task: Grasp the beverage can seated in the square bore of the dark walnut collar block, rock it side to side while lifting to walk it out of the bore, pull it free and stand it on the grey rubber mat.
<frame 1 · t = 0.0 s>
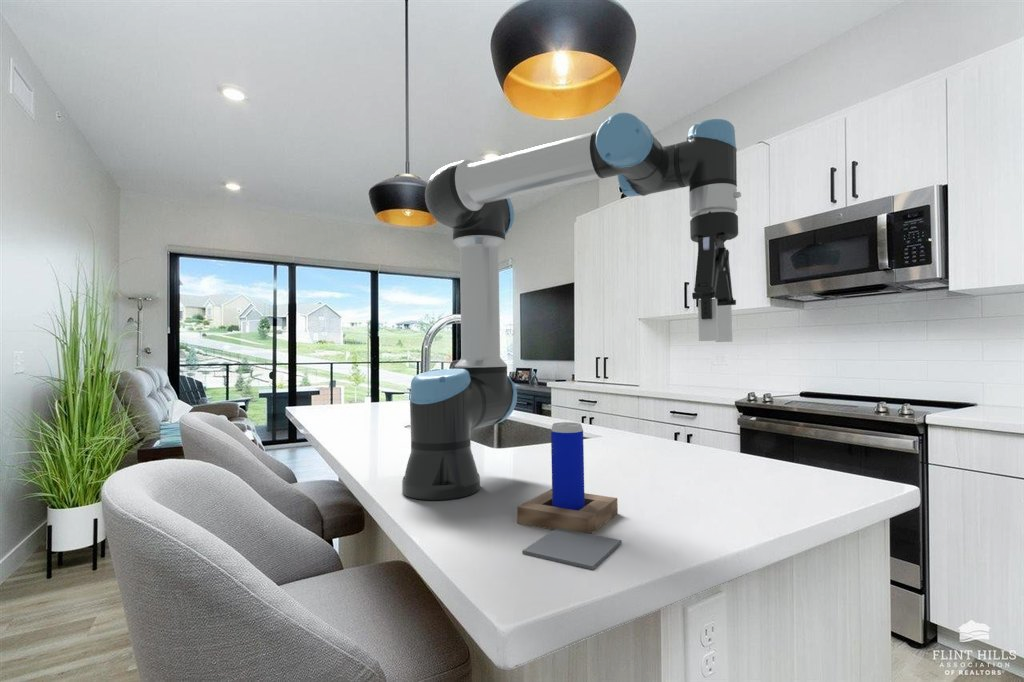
hand: (716, 341, 84), 28 cm above the countertop, fingers open, 13 cm apart
grey rubber mat: (573, 548, 68), on the countertop
walnut collar block: (568, 517, 81), on the countertop
beverage can: (568, 519, 81), resting in walnut collar block
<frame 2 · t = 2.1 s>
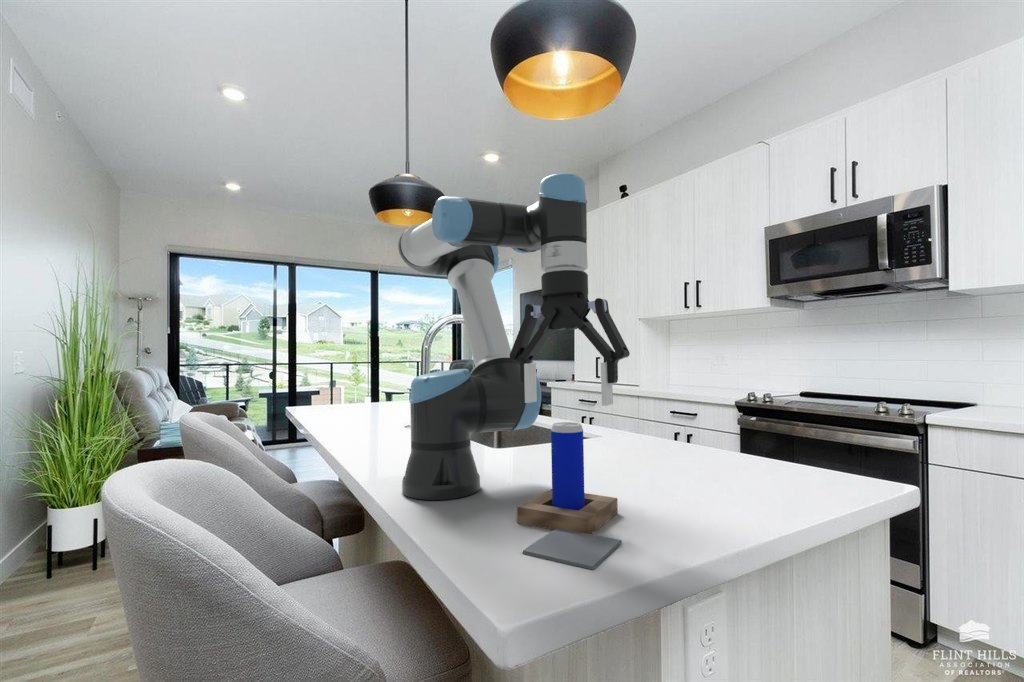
hand: (567, 403, 81), 18 cm above the countertop, fingers open, 13 cm apart
nothing on the countertop moved.
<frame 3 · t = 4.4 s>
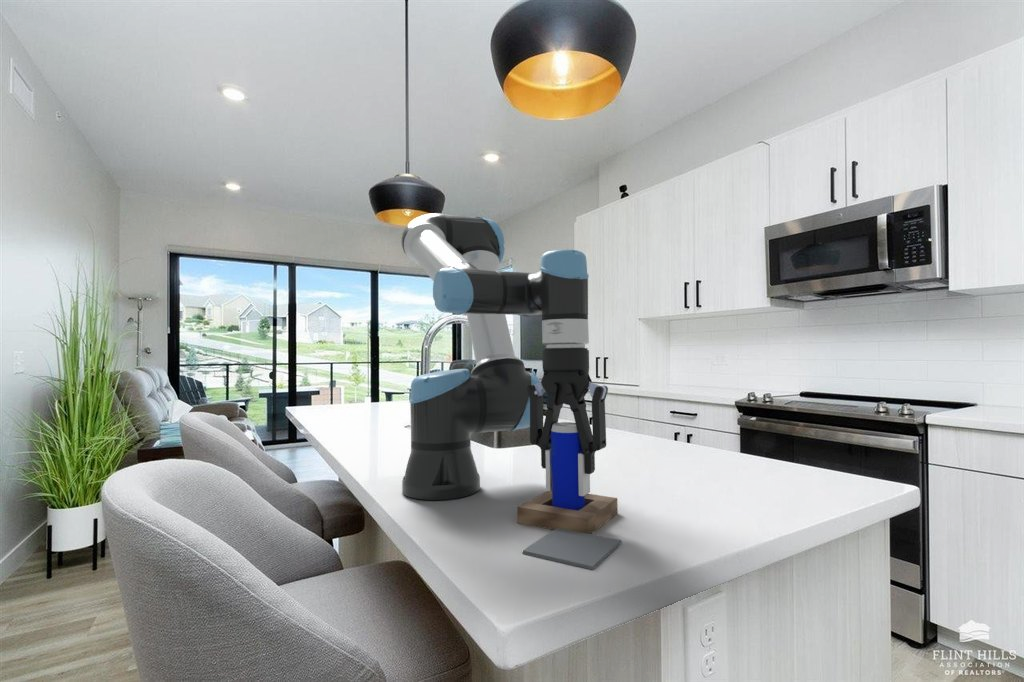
hand: (567, 491, 81), 4 cm above the countertop, fingers closed on beverage can, 5 cm apart
beverage can: (568, 519, 81), resting in walnut collar block, touching gripper
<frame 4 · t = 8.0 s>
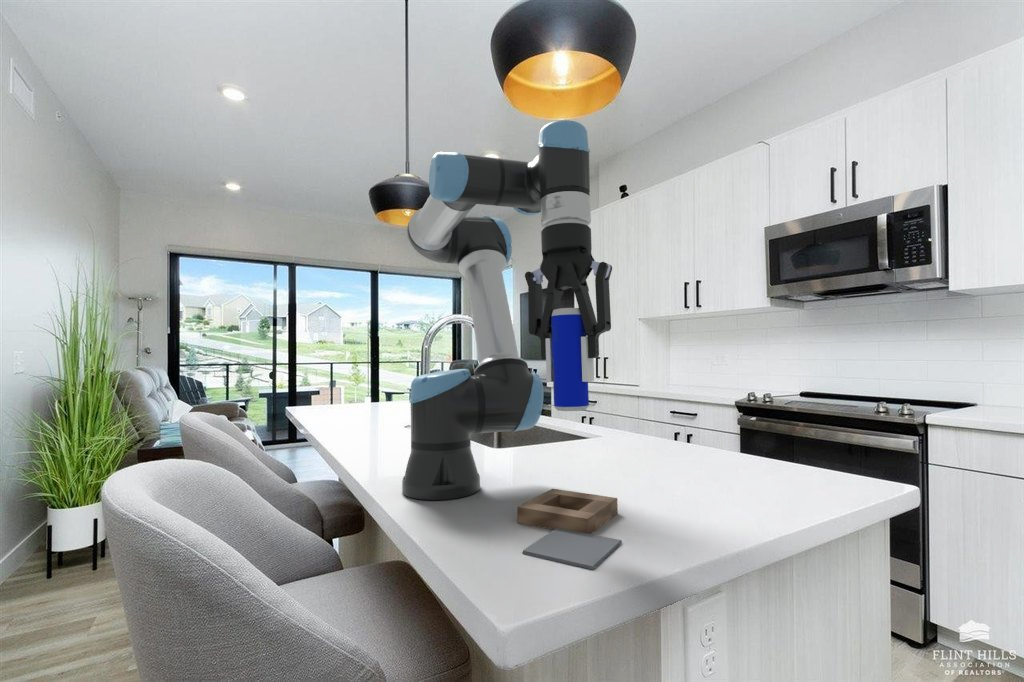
hand: (570, 380, 75), 22 cm above the countertop, fingers closed on beverage can, 5 cm apart
beverage can: (571, 411, 75), point 18 cm above the countertop, touching gripper
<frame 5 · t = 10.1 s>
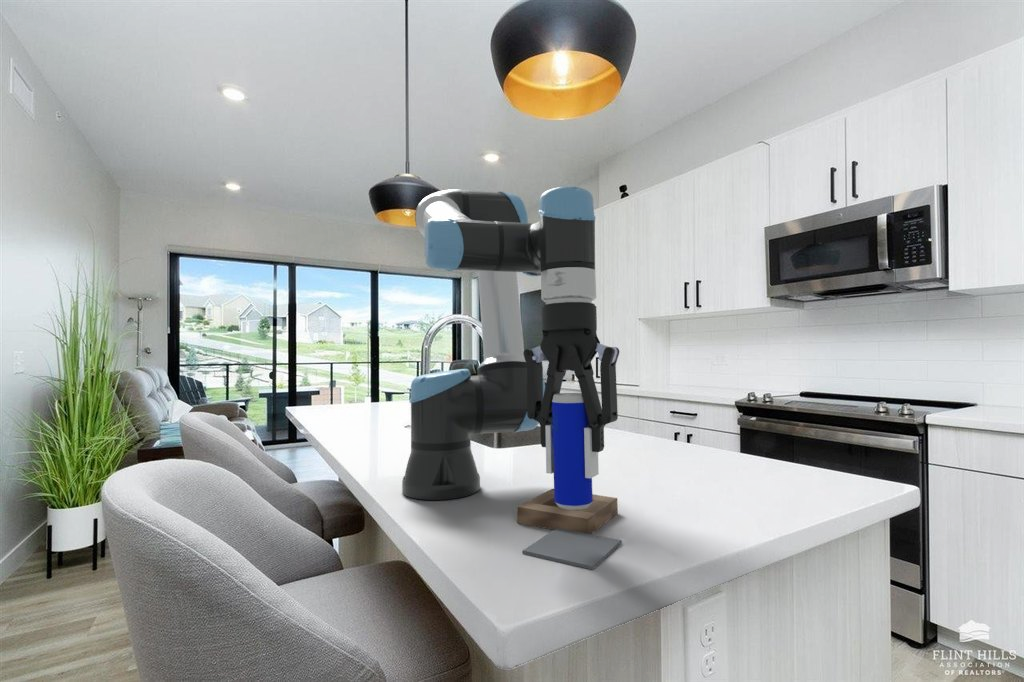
hand: (572, 473, 68), 10 cm above the countertop, fingers closed on beverage can, 5 cm apart
beverage can: (573, 506, 68), point 6 cm above the countertop, touching gripper
when the fingers open (6 cm above the countertop, at t = 11.5 s): beverage can drops 2 cm, resting on grey rubber mat.
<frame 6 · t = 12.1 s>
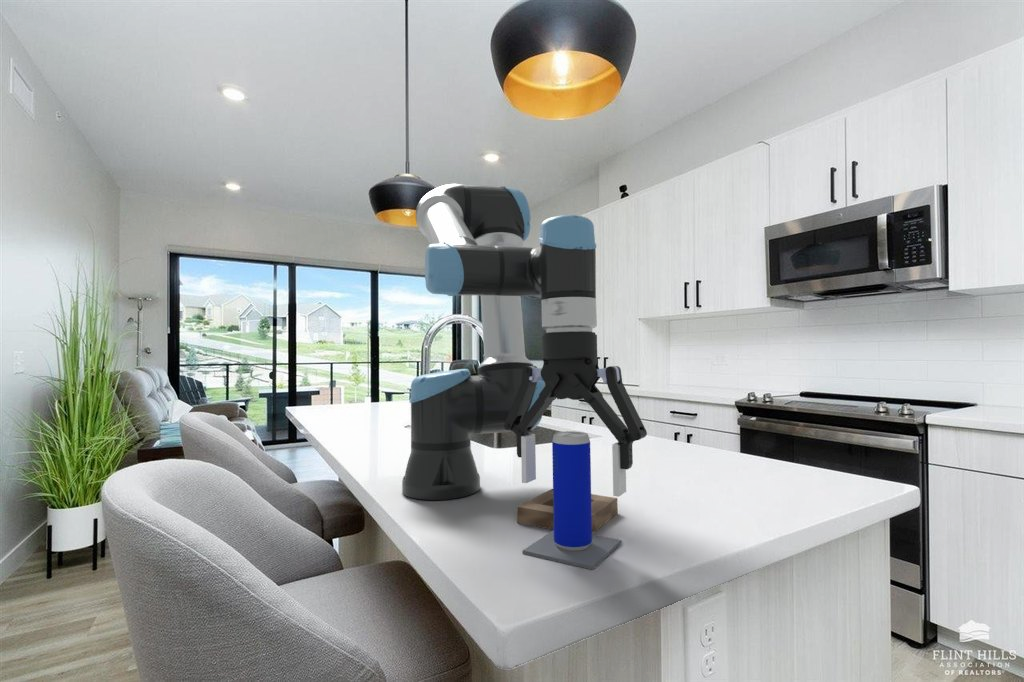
hand: (572, 487, 68), 8 cm above the countertop, fingers open, 13 cm apart
beverage can: (572, 546, 68), resting on grey rubber mat
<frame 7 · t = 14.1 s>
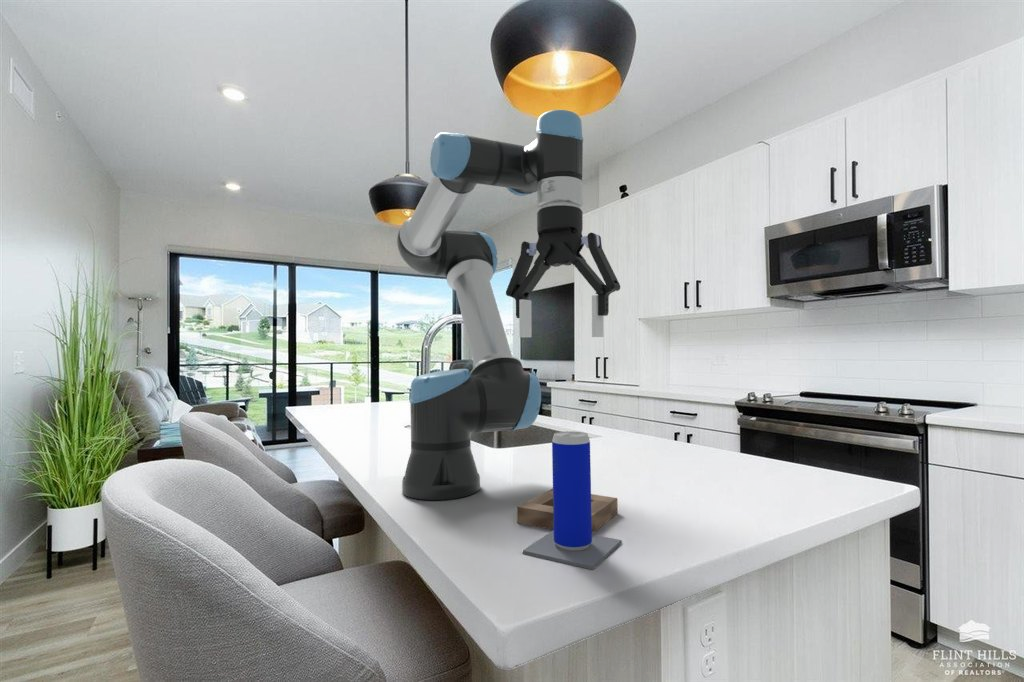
hand: (560, 337, 83), 29 cm above the countertop, fingers open, 13 cm apart
nothing on the countertop moved.
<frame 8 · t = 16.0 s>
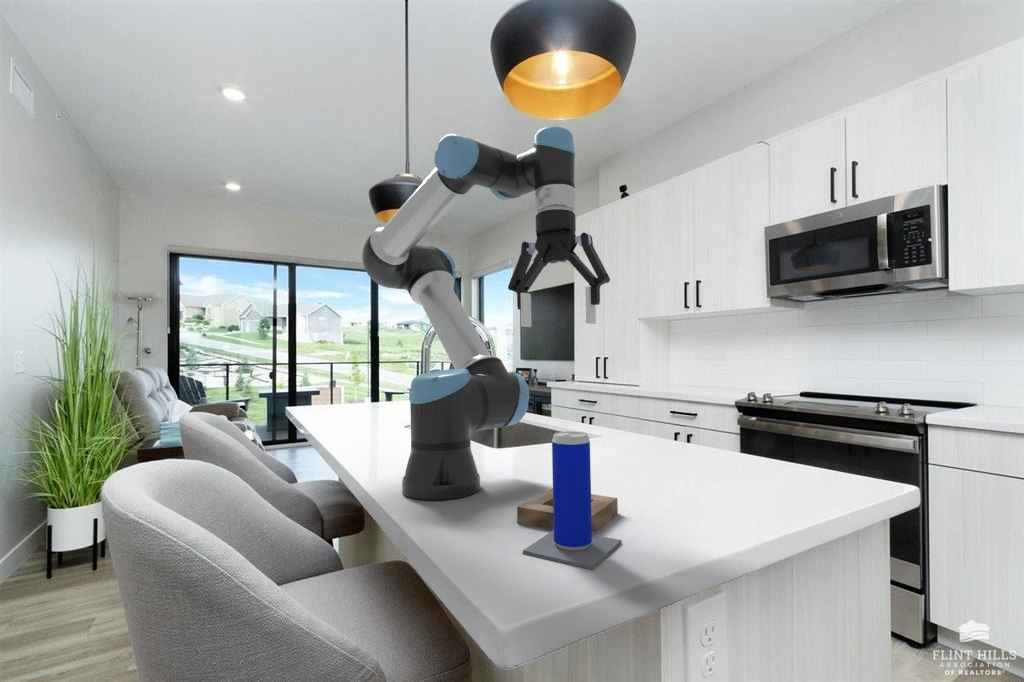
hand: (557, 325, 95), 32 cm above the countertop, fingers open, 13 cm apart
nothing on the countertop moved.
at the end: beverage can 0.1 cm from the grey rubber mat (horizontally); beverage can tilted 0°; the gripper is holding nothing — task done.
